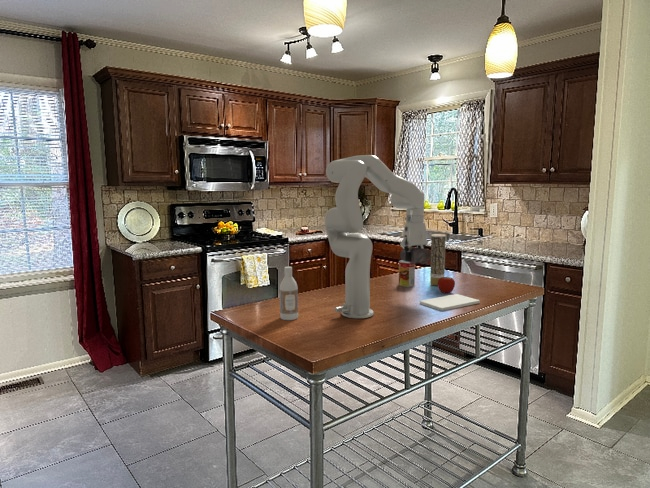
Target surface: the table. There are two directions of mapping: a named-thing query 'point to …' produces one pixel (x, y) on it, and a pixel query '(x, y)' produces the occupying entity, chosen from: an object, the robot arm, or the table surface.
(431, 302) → the cream board
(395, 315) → the table surface
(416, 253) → the perforated stone tool
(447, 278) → the apple
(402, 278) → the canned food
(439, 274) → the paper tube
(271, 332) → the table surface
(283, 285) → the bath foam
